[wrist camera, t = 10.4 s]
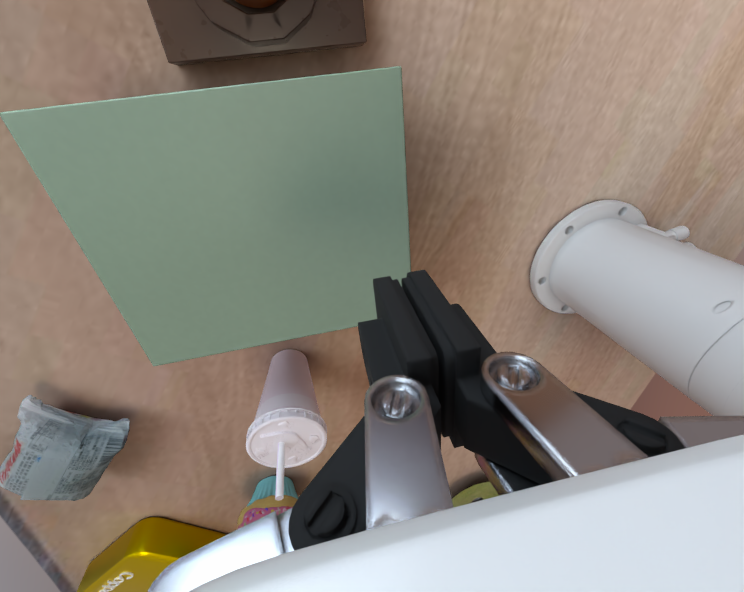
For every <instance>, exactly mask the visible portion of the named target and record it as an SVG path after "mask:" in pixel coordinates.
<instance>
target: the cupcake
mask: <svg viewBox="0 0 744 592" xmlns="http://www.w3.org/2000/svg"><path fill="white" fill-rule="evenodd" d="M275 491H276V476H270V477H267V478H265V479H263V480H261V481H260V482H259V483H258V484H257V486H256V489H255V492H254V494H253V496H252V498H251V500H250V502H249V504H248V505H247V507H246V508H244V509H243V510H242V511H241V514H240V516H239V518H238V529H239V528H241V527H243V526H245V525H248V524H250V523H252V522H254V521H256V520H258V519H260V518H262V517H264V516H266V515H268V514H270V513H272V512H274V511H276V513H277V515H279V514H281V513H283V512H285V511H287V510H289V509H291V508H293V506H294V505H295V503H296V501H297V500H298V496H297V494H296V491H295V488H294V484H293V482H292V480H291V479H290V478H288V477H285V476H284V498H283V499H282V500H279V501H278V500H275Z"/></svg>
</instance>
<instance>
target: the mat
mask: <svg viewBox="0 0 744 592" xmlns="http://www.w3.org/2000/svg"><path fill="white" fill-rule="evenodd" d="M496 496H499V495H498V493H497V492H496V490H495V489H494V487H493V486H492V484H491V483H490V482H485V483H480V484H476V485H473V486H471V487H469V488H467V489H465V490H463V491H462V492H460V493H459V494H458V495H456V496H455V497H454V498H453V499H452V503H453V508H454V507H458V506H462V505H465V504H469V503H473V502H477V501H481V500H485V499H488V498H492V497H496Z"/></svg>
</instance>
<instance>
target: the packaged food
mask: <svg viewBox="0 0 744 592" xmlns="http://www.w3.org/2000/svg"><path fill="white" fill-rule="evenodd" d="M18 418H19V420H20V421H21V425H20V428H19V431H18V432H17V434H16V436H15V440H14V446H13V450H12V452H11V453H9V454H8V455H7V457H6V459H5V460H4V462H3V464H2V465H1V466H0V486H1V487H3V488H5V489H7V490H9V491H11V492H13V493H15V494H18V495H21V499H20V500H72V501H75V500H79V499H83V498H85V497H86V496H88V495H89V494H90V493H91V491H92V490H93V488H94V487H95V485H96V484H97V482H98V481H99V479H100V478H101V475H102V474H103V472H104V471H105V469H106V468H107V466H108V465H109V463H110V462H111V460H112V459H113V457H114V456H115V455H116V454H117V453H118V452H119V451H120V450H121V449H123V447H124V445H125V443H126V441H127V437H128V433H129V426H130V421H129V419H127V418H123V419H120V420H118V421H112V420H104V419H97V418H93V417H89V416H85V415H80V414H76V413H72V412H68V411H65V410H62V409H58V408H56V407H53V406H51V405H50V404H48V405H47V404H43V402H42V401H41V400H38V399H36V397H33V396H32V395H29V396H27V397H26V398H25V399H23V401H22V403H21V405H20V409H19V413H18Z"/></svg>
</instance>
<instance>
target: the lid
mask: <svg viewBox="0 0 744 592" xmlns="http://www.w3.org/2000/svg"><path fill="white" fill-rule="evenodd" d="M0 116H1V118H2V120H3V121H4V123H5V124H6V126H7V128H8V129H9V131H10V133H11V134H12V136H13V138H14V139H15V141H16V142H17V144H18V146H19V147H20V149H21V151H22V152H23V154H24V156H25V157H26V159H27V160H28V162H29V164H30V165H31V167H32V169H33V170H34V172H35V173H36V175H37V177H38V178H39V180H40V182H41V183H42V185H43V187H44V188H45V190H46V191H47V193H48V195H49V196H50V198H51V200H52V201H53V203H54V205H55V206H56V208H57V209H58V211H59V213H60V214H61V216H62V218H63V219H64V221H65V223H66V224H67V226H68V227H69V229H70V231H71V232H72V234H73V236H74V237H75V239H76V240H77V242H78V244H79V245H80V247H81V249H82V250H83V252H84V254H85V255H86V257H87V258H88V260H89V262H90V263H91V265H92V267H93V268H94V270H95V272H96V273H97V275H98V276H99V278H100V280H101V281H102V283H103V285H104V286H105V288H106V289H107V291H108V293H109V294H110V296H111V298H112V299H113V301H114V303H115V304H116V306H117V307H118V309H119V311H120V312H121V314H122V316H123V317H124V319H125V321H126V322H127V324H128V325H129V327H130V329H131V330H132V332H133V334H134V335H135V337H136V339H137V340H138V342H139V343H140V345H141V347H142V348H143V350H144V352H145V353H146V355H147V356H148V358H149V360H150V361H151V363H152V365H153V366H158V365H163V364H168V363H174V362H179V361H184V360H189V359H194V358H199V357H204V356H209V355H214V354H219V353H224V352H229V351H234V350H239V349H245V348H250V347H255V346H260V345H265V344H270V343H275V342H280V341H285V340H290V339H295V338H300V337H305V336H310V335H316V334H321V333H326V332H331V331H336V330H341V329H346V328H351V327H356V326H358V322H363V321H369V320H374V319H377V313H376V304H375V296H374V288H373V279H375V278H381V277H387V276H390V277H391V278H392V280H395V279H398V281H399V283H400V285H401V287H402V284H401V280H402V278H406V277H407V273H409V272H411V261H410V239H409V218H408V197H407V175H406V154H405V133H404V111H403V90H402V68H401V67H400V66H397V67H388V68H379V69H371V70H362V71H353V72H345V73H336V74H328V75H319V76H310V77H302V78H293V79H284V80H276V81H267V82H258V83H250V84H241V85H232V86H224V87H215V88H207V89H198V90H189V91H181V92H172V93H163V94H155V95H146V96H137V97H129V98H120V99H112V100H103V101H94V102H86V103H77V104H68V105H60V106H51V107H42V108H34V109H25V110H17V111H8V112H1V113H0Z"/></svg>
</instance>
